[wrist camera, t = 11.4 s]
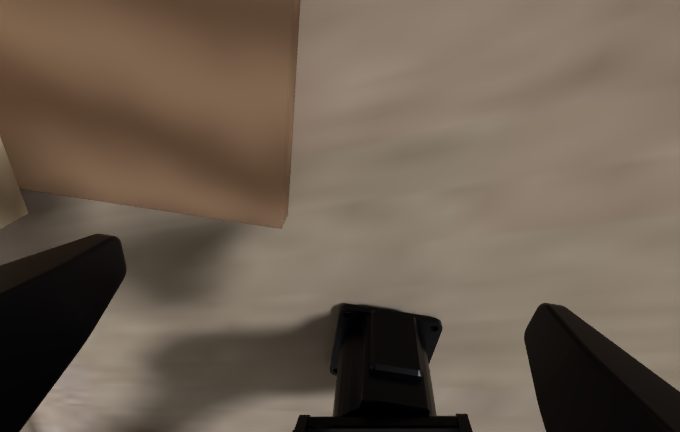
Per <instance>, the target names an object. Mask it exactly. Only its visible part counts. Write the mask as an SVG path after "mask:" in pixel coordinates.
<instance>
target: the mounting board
mask: <svg viewBox="0 0 680 432" xmlns="http://www.w3.org/2000/svg"><path fill="white" fill-rule="evenodd" d="M299 12H300V0H0V137H1V140H2V143H3V146H4V148H5V151H6V154H7V156H8V159H9V162H10V165H11V167H12V170H13V173H14V175H15V178H16V181H17V184H18V186H19V189H24V190H31V191H37V192H44V193H50V194H57V195H63V196H70V197H76V198H83V199H90V200H96V201H103V202H109V203H116V204H122V205H129V206H135V207H142V208H148V209H155V210H161V211H168V212H174V213H181V214H187V215H194V216H201V217H207V218H214V219H220V220H227V221H233V222H240V223H246V224H253V225H259V226H266V227H272V228H279V229H282V227H283V224H284V222H285V220H286V218H287V215H288V201H289V184H290V167H291V150H292V132H293V115H294V98H295V81H296V64H297V47H298V29H299Z"/></svg>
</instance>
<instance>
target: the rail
mask: <svg viewBox="0 0 680 432" xmlns="http://www.w3.org/2000/svg"><path fill="white" fill-rule="evenodd" d="M27 214H28V211H27V208H26V205H25V202H24V200H23V197H22V194H21V192H20V189H19V186H18V184H17V181H16V178H15V175H14V173H13V170H12V167H11V165H10V162H9V159H8V156H7V154H6V151H5V148H4V146H3V143H2V140H1V137H0V229H2V228H4V227H6V226H7V225H9V224H11V223H13V222H14V221H16V220H18V219H20V218H21V217H23V216H25V215H27Z"/></svg>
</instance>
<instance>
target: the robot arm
mask: <svg viewBox="0 0 680 432" xmlns="http://www.w3.org/2000/svg"><path fill="white" fill-rule="evenodd" d="M125 275H126V262H125V258H124V254H123V249H122V245H121V241H120V240H119V238H117V237H115V236H110V235H104V234H94V235H91V236H88V237H85V238H82V239H79V240H76V241H73V242H70V243H67V244H64V245H61V246H58V247H55V248H52V249H49V250H46V251H43V252H40V253H37V254H34V255H31V256H28V257H25V258H22V259H19V260H16V261H13V262H10V263H7V264H4V265H1V266H0V432H19V431H20V430H21V429H22V427H23V426H24V425H25V424H26V422H27V421H28V420H29V418H30V417H31V416H32V414H33V413H34V411H35V410H36V409H37V407H38V406H39V405H40V403H41V402H42V401H43V399H44V398H45V397H46V395H47V394H48V393H49V391H50V390H51V388H52V387H53V386H54V384H55V383H56V382H57V380H58V379H59V378H60V376H61V375H62V374H63V372H64V371H65V370H66V368H67V367H68V365H69V364H70V363H71V361H72V360H73V359H74V357H75V356H76V355H77V353H78V352H79V351H80V349H81V348H82V346H83V345H84V343H85V342H86V341H87V339H88V337H89V336H90V334H91V333H92V331H93V330H94V328H95V326H96V325H97V323H98V321H99V320H100V318H101V316H102V315H103V313H104V311H105V310H106V308H107V306H108V304H109V303H110V301H111V299H112V298H113V296H114V294H115V293H116V291H117V289H118V288H119V286H120V284H121V283H122V281H123V279H124V277H125ZM345 312H349V313H345ZM432 326H435V327H432ZM441 331H442V324H441V321H440V320H439V319H436V318H431V317H424V316H418V315H411V314H405V313H399V312H392V311H386V310H379V309H373V308H366V307H360V306H354V305H343V306H342V307H341V308H340V313H339V318H338V324H337V330H336V336H335V342H334V348H333V354H332V359H331V365H330V372H331V373H332V374H333V375H336V376H337V381H336V390H335V400H334V409H333V417H310V415H299V418H298V421H297V424H296V427H295V430H293V432H472V428H471V425H470V422H469V419H468V415H467V414H456V416H437V415H436V409H435V402H434V396H433V389H432V383H431V376H430V370H429V363H430V360H431V357H432V355H433V352H434V350H435V347H436V344H437V342H438V339H439V337H440V334H441ZM524 340H525V345H526V350H527V355H528V359H529V364H530V368H531V373H532V378H533V382H534V387H535V392H536V396H537V401H538V405H539V409H540V413H541V416H542V419H543V423H544V426H545V429H546V432H680V392H679V391H678V390H676V389H675V388H674V387H672V386H671V385H670V384H668V383H667V382H666V381H664V380H663V379H662V378H660V377H659V376H658V375H656V374H655V373H654V372H652V371H651V370H649V369H648V368H647V367H645V366H644V365H643V364H641V363H640V362H639V361H637V360H636V359H635V358H633V357H632V356H631V355H629V354H628V353H627V352H625V351H624V350H623V349H621V348H620V347H618V346H617V345H616V344H614V343H613V342H612V341H610V340H609V339H608V338H606V337H605V336H604V335H602V334H601V333H600V332H598V331H597V330H596V329H594V328H593V327H592V326H590V325H589V324H587V323H586V322H585V321H583V320H582V319H581V318H579V317H578V316H577V315H575V314H574V313H573V312H571V311H570V310H569V309H567V308H566V307H564V306H561V305H556V304H549V303H543V304H541V305H539V307H538V308H537V310H536V312H535V313H534V315H533V317H532V319H531V321H530V322H529V324H528V326H527V328H526V330H525V335H524Z"/></svg>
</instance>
